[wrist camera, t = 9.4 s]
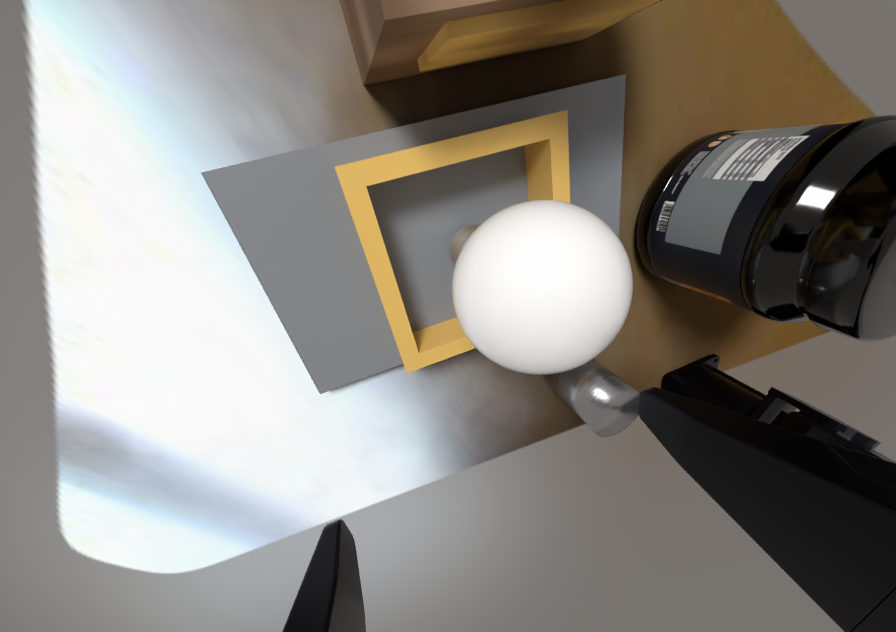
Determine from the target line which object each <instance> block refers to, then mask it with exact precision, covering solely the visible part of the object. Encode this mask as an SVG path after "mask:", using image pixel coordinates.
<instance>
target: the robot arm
mask: <svg viewBox="0 0 896 632" xmlns="http://www.w3.org/2000/svg"><path fill="white" fill-rule="evenodd" d="M719 360H720V357H719V356H717V355H715V354H713V355H710V356H708V357H706V358H703V359H701V360H699V361H696V362H694V363H692V364H689V365H687V366H685V367H682V368H680V369H678V370H675V371H673V372H671V373H668V374H667V375H666V376H665V377H664V379H663V385H662V389H659V388H655V387H652V388H649V389H646V390H644V391H642V392H641V393H640V395H639V403H638V414H639V416H640V418H641V420H642V421H643V422H644V423H645V424H646V426H647V427H648V428H649V429H650V430H651V432H652V433H653V434H654V435H655V436H656V438H657V439H658V440H659V441H660V442H661V444H662V445H663V446H664V447H665V448H666V450H667V451H668V452H669V453H670V454H671V456H672V457H673V458H674V459H675V460H676V461H677V463H678V464H679V465H681V467H682V468H683V469H684V470H685V471H686V472H687V473H688V474H689V475H690V476H691V477H692V478H693V479H694V480H695V481H696V482H697V483H698V484H699V485H700V486H701V487H702V488H703V489H704V490H705V491H706V492H707V493H708V494H709V495H710V496H711V497H712V498H713V499H714V500H715V501H716V502H717V503H718V504H719V505H720V506H721V507H722V508H723V509H724V510H725V511H726V512H727V513H728V514H729V515H730V516H731V518H732V519H733V520H735V522H736V523H737V524H738V525H739V526H740V527H741V528H742V529H743V530H744V531H746V533H748V535H749V536H750V537H751V538H752V539H753V540H754V541H755V542H756V543H757V544H758V545H759V546H760V547H761V548H762V549H763V550H764V551H765V552H766V553H767V554H768V555H769V556H770V557H771V558H772V559H773V560H774V561H775V562H776V563H777V564H778V565H779V566H780V567H781V568H782V569H783V570H784V571H785V572H786V573H787V574H788V575H789V576H790V577H791V578H792V579H793V580H794V581H795V582H796V583H797V584H798V585H799V586H800V587H801V588H802V589H803V590H804V591H805V592H806V593H807V594H808V595H809V596H810V597H811V598H812V599H813V600H814V601H815V603H816V604H817V605H818V606H819V607H820V608H821V609H823V611H824V612H825V613H826V614H827V615H828V616H829V617H830V618H831V619H832V620H833V621H834V622H835V623H836V624H837V625H838V626H839V627H840V628H841V629H842V630H843V631H844V632H896V462H895V461H893V460H891V459H890V458H888V457H886V456H884V455H882V454H881V453H879V452H877V451H875V450H874V449H875V448H876V447H877V446H878V445H879V444H880V443H881V442H879V441H877V440H875V439H873V438H872V437H870V436H868V435H866V434H864V433H862V432H860V431H858V430H857V429H855V428H853V427H851V426H849V425H848V424H846V423H844V422H842V421H840V420H838V419H836V418H834V417H833V416H831V415H829V414H827V413H825V412H823V411H821V410H819V409H817V408H815V407H813V406H811V405H809V404H807V403H805V402H803V401H801V400H799V399H797V398H795V397H793V396H791V395H789V394H786V393H784V392H782V391H780V390H777V389H775V388H773V387H771V389H770V390H769V391H768V394H767V396H766V395H764V394H762V393H761V392H759V391H757V390H755V389H753V388H751V387H749V386H748V385H745V384H744V383H742V382H740V381H738V380H736V379H734V378H733V377H731V376H729V375H727V374H725V373H724V372H722V371H720V370H718V369H717V368H718V364H719ZM796 408H798V409H799V410H800V411H799V412H794V411H795V410H796ZM283 632H366V626H365V613H364V604H363V597H362V590H361V583H360V576H359V568H358V561H357V555H356V547H355V542H354V538H353V536H352V534H351V532H350V531H349V529H348V527H347V526H346V524H345V522H344V521H343V520H342V519H339V520H336V521H334V522H331V523H329V524H327V525H326V526H325V527H324V529H323V531H322V534H321V536H320V539H319V541H318V544H317V546H316V549H315V551H314V554H313V556H312V559H311V561H310V564H309V566H308V569H307V571H306V574H305V576H304V579H303V581H302V584H301V586H300V589H299V591H298V594H297V597H296V599H295V601H294V604H293V606H292V609H291V611H290V614H289V616H288V619H287V621H286V624H285V626H284V629H283Z"/></svg>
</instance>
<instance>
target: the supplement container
mask: <svg viewBox="0 0 896 632" xmlns="http://www.w3.org/2000/svg"><path fill="white" fill-rule="evenodd" d="M637 247H638V252H639V255H640V258H641V260H642V263H643V264H644V266H645V267H646V269H647V270H648V271H649V272H650V273H651V274H652V275H654V276H655V277H657V278H658V279H660V280H662V281H665V282H668V283H670V284H675V285H679V286H682V287H685V288H688V289H691V290H694V291H696V292H699V293H702V294H705V295H708V296H710V297H713V298H716V299H719V300H722V301H725V302H727V303H730V304H733V305H736V306H739V307H742V308H744V309H747V310H750V311H753V312H755V313H756V314H757V315H759V316H761V317H763V318H765V319H768V320H771V321H774V322H780V323H796V322H802V321H807V320H810V321H811V322H812V323H813V324H814V325H816V326H818V327H821V328H824V329H827V330H830V331H833V332H836V333H839V334H842V335H845V336H848V337H851V338H854V339H857V340H860V341H865V342H875V341H881V340H885V339H888V338H891V337H894V336H896V116H893V115H891V116H890V115H888V116H877V117H869V118H865V119H862V120H858V121H855V122H844V123H832V124H820V125H808V126H796V127H784V128H772V129H760V130H749V131H736V130H732V131H721V132H717V133H713V134H709V135H707V136H704V137H702V138H699V139H697V140H696V141H694V142H692V143H690V144H689V145H687V146H686V147H684V148H683V149H682V150H681V151H679V152H678V153H677V154H676V155H675V156H674V157H673V158H672V159H671V160H670V161H669V162H668V163H667V164H666V165H665V166H664V167H663V169H662V170H661V171H660V173H659V174H658V176H657V177H656V178H655V180H654V182H653V183H652V185H651V187H650V189H649V191H648V193H647V195H646V197H645V200H644V202H643V205H642V208H641V211H640V215H639V219H638V225H637Z"/></svg>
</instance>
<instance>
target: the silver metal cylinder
mask: <svg viewBox="0 0 896 632" xmlns="http://www.w3.org/2000/svg"><path fill="white" fill-rule="evenodd" d="M544 379H545V381H546V382H547V383H548V384H549V385H550V386H551V387H552V388H553V389H554V390H555V391H556V392H557V393H558V395H559V396H560V397H561V398H562V399H563V400H564V401H565V402H566V403H567V404H568V405H569V406H570V407H571V408H572V409H573V410H574V411H575V412H576V413H577V414H578V415H579V416H580V417H581V418H582V420H583V421H584V422H585V423H586V424H587V425H588V426H589V427H590V428H591V429H592V430H593V431H594V432H595V433H596V434H597V435H599V436H602V437H608V436H613V435H615V434H618V433H620V432H621V431H623V430H624V429H626V428H627V427H628V426H629V425H630V424H631V423H632V422H633V421H634V420H635V419H636V417H637V416H638V403H639V395H640V393H639V392H637V391H636V390H635V389H633V388H632V387H631V386H630V385H628V384H627V383H626V382H624V381H623V380H622V379H620V378H619V377H618V376H616V375H615V374H614V373H612V372H611V371H610V370H608V369H607V368H606V367H604V366H603V365H602V364H600V363H599V362H598V361H596V360H595V359H594V358H593V359H592V360H590V361H589V362H587V363H585V364H583V365H581V366H579V367H577V368H574V369H571V370H568V371H565V372H561V373H555V374H547V375H544Z"/></svg>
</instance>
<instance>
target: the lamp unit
mask: <svg viewBox="0 0 896 632" xmlns="http://www.w3.org/2000/svg"><path fill="white" fill-rule="evenodd" d="M659 1H661V0H340V2H341V6H342V10H343V13H344V17H345V20H346V24H347V27H348V31H349V35H350V38H351V42H352V45H353V49H354V53H355V56H356V60H357V63H358V67H359V70H360V74H361V78H362V81H363V85H369V84H374V83H379V82H384V81H389V80H394V79H398V78H403V77H408V76H413V75H418V74H423V73H427V72H432V71H437V70H442V69H447V68H452V67H457V66H461V65H466V64H471V63H476V62H481V61H486V60H491V59H495V58H500V57H505V56H510V55H515V54H520V53H524V52H529V51H534V50H539V49H544V48H549V47H554V46H558V45H563V44H568V43H573V42H578V41H582V40H584V39H586V38H588V37H590V36H592V35H594V34H596V33H598V32H600V31H602V30H604V29H606V28H608V27H610V26H612V25H614V24H616V23H618V22H620V21H622V20H624V19H626V18H628V17H630V16H632V15H634V14H636V13H638V12H640V11H642V10H643V9H645V8H647V7H649V6H651V5H653V4H655V3H657V2H659Z"/></svg>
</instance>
